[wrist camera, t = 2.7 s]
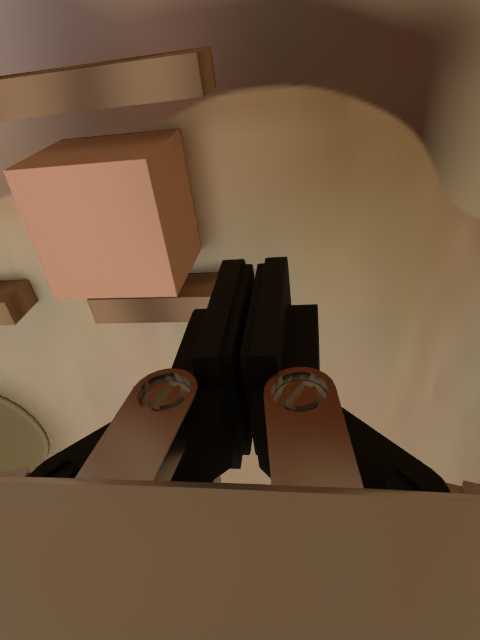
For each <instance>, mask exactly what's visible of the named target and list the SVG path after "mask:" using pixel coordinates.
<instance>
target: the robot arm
mask: <svg viewBox="0 0 480 640" xmlns="http://www.w3.org/2000/svg"><path fill="white" fill-rule="evenodd" d="M252 437H253V442H254V448H255V453H256V455H258V461H259V467H260V468H261V469H262V470H263V471H264V472H265V473H266V474H267V475H268V476H269V477H270V478H271V485H264V484H236V483H221V477H220V475H221V474H223V473H224V472H225V471H227V470H228V469H230V468H231V469H240V468H241V461H242V455H249V454H250V451H251V445H252ZM0 640H480V484H477V483H473V482H468V481H463V483H462V486H459V485H454V484H449V483H445V482H444V480H443V479H442V478H441V477H440V476H439V475H438V474H437V473H436V472H434V471H433V470H432V469H431V468H429V467H428V466H426V465H425V464H424V463H422V462H421V461H419V460H418V459H416V458H415V457H413V456H412V455H410V454H409V453H408V452H406V451H405V450H403V449H402V448H400V447H399V446H397V445H396V444H395V443H393V442H392V441H390V440H389V439H387V438H386V437H384V436H383V435H381V434H380V433H379V432H377V431H376V430H374V429H373V428H371V427H370V426H368V425H367V424H365V423H364V422H363V421H361V420H360V419H358V418H357V417H355V416H354V415H352V414H351V413H350V412H348V411H347V410H345V409H344V408H342V407H341V404H340V400H339V397H338V393H337V390H336V386H335V384H334V383H333V381H332V379H331V378H330V377H329V376H328V375H326V374H325V373H324V372H321V371H320V364H319V329H318V306H317V304H313V305H291V296H290V284H289V271H288V260H287V257H273V258H266V259H265V263H263V264H258V265H257V270H256V275H255V278H254V270H253V265H252V264H245V260H244V259H237V260H223V261H222V264H221V267H220V270H219V273H218V276H217V279H216V282H215V285H214V288H213V291H212V294H211V297H210V300H209V303H208V306H207V308H205V309H195V310H194V311H193V312H192V315H191V317H190V320H189V323H188V325H187V328H186V331H185V333H184V336H183V339H182V342H181V344H180V347H179V350H178V352H177V355H176V358H175V360H174V363H173V366H172V368H171V369H163V370H159V371H156V372H153V373H151V374H149V375H147V376H146V377H144V378H143V379H141V380H140V381H139V382H138V383H137V384H136V385H135V387H134V388H133V389H132V391H131V392H130V394H129V395H128V397H127V399H126V400H125V402H124V403H123V405H122V406H121V408H120V409H119V411H118V412H117V414H116V415H115V417H114V419H113V420H112V422H110V423H108V424H107V425H105V426H103V427H102V428H100V429H98V430H96V431H95V432H93V433H91V434H90V435H88V436H86V437H85V438H83V439H81V440H79V441H78V442H76V443H74V444H73V445H71V446H69V447H67V448H66V449H64V450H62V451H61V452H59V453H57V454H55V455H54V456H52V457H50V458H49V459H47V460H46V461H44V462H43V463H41V464H40V465H39V466H37V467H36V468H35V469H34V470H33V472H30V470H29V468H28V467H27V468H22V469H16V470H11V471H5V472H0Z"/></svg>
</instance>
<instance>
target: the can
mask: <svg viewBox="0 0 480 640" xmlns="http://www.w3.org/2000/svg"><path fill="white" fill-rule="evenodd" d="M48 451H49V444H48V440H47V437H46V434H45V433H44V431H43V429H42V428H41V426H40V425H39V424H38V422H37V421H36V420H35V419H34V418H33V417H32V416H31V415H30V414H28V413H27V412H26V411H25V410H23V409H22V408H21V407H19V406H18V405H16V404H15V403H13V402H11V401H9V400H7V399H5V398H3V397H1V396H0V472H5V471H11V470H16V469H22V468H27V467H28V468H29V470H30V472H33V470H34V469H35V468H36V467H37V466H39V465H40V464H41V463H43V462H44V460H45V459H46V457H47V455H48Z"/></svg>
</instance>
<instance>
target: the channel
mask: <svg viewBox="0 0 480 640" xmlns="http://www.w3.org/2000/svg"><path fill="white" fill-rule="evenodd" d="M215 87H216V82H215V75H214V68H213V61H212V54H211V47H203V48H196V49H189V50H182V51H175V52H168V53H160V54H154V55H147V56H140V57H133V58H125V59H118V60H112V61H104V62H97V63H91V64H83V65H77V66H69V67H62V68H55V69H48V70H41V71H34V72H27V73H20V74H12V75H5V76H0V121H6V120H15V119H23V118H32V117H39V116H48V115H57V114H65V113H73V112H81V111H89V110H98V109H107V108H115V107H124V106H132V105H140V104H148V103H157V102H165V101H174V100H182V99H191V98H198V97H204V96H205V95H206V94H208V93H209V92H210V91H212V90H213V89H214V88H215ZM217 276H218V273H194V274H188V276H187V278H186V280H185V282H184V284H183V286H182V288H181V290H180V292H179V294H178V296H177V297H137V298H90V299H88V300H87V301H88V304H89V307H90V309H91V312H92V315H93V317H94V320H95V323H149V322H189V320H190V317H191V315H192V312H193V311H194V310H195V309H205V308H207V306H208V303H209V300H210V297H211V294H212V291H213V288H214V285H215V282H216V279H217ZM37 302H38V301H37V298H36V296H35V294H34V292H33V289H32V287H31V285H30V282H29V280H15V281H0V325H16V324H17V322H18V321H19V320H20V319H21V318H22V317H23V316H24V315H25V314H26V313H27V312H28V311H29V310H30V309H31V308H32V307H33V306H34V305H35V304H36V303H37Z"/></svg>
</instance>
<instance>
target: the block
mask: <svg viewBox="0 0 480 640" xmlns="http://www.w3.org/2000/svg"><path fill="white" fill-rule="evenodd" d="M3 172H4V174H5V177H6V179H7V182H8V184H9V187H10V189H11V192H12V194H13V197H14V199H15V202H16V204H17V207H18V209H19V212H20V214H21V217H22V219H23V221H24V224H25V226H26V229H27V231H28V234H29V236H30V239H31V241H32V244H33V246H34V249H35V251H36V253H37V256H38V258H39V261H40V263H41V266H42V268H43V271H44V273H45V276H46V278H47V281H48V283H49V286H50V288H51V290H52V293H53V295H54V298H55V299H90V298H137V297H177V296H178V294H179V292H180V290H181V288H182V286H183V284H184V282H185V280H186V278H187V276H188V274H189V272H190V270H191V268H192V266H193V264H194V262H195V260H196V258H197V256H198V254H199V252H200V250H201V243H200V238H199V232H198V227H197V221H196V216H195V210H194V205H193V199H192V194H191V188H190V183H189V177H188V172H187V166H186V161H185V155H184V150H183V144H182V139H181V133H180V129H172V130H161V131H151V132H134V133H124V134H114V135H103V136H93V137H83V138H72V139H62V140H60V141H58V142H56V143H54V144H52V145H51V146H49V147H47V148H45V149H43V150H41V151H39V152H37V153H36V154H34V155H32V156H30V157H28V158H26V159H24V160H23V161H21V162H19V163H17V164H15V165H13V166H11V167H9V168H7V169H6V170H4V171H3Z"/></svg>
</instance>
